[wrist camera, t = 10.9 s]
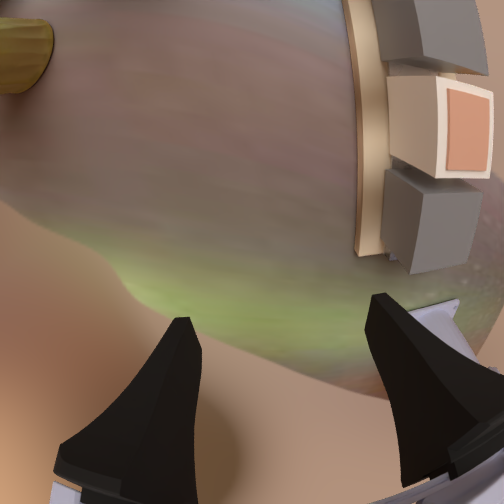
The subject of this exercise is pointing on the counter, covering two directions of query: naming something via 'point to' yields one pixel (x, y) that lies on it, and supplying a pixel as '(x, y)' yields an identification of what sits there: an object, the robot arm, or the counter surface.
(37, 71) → the vase
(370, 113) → the board
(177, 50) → the counter surface
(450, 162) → the block
